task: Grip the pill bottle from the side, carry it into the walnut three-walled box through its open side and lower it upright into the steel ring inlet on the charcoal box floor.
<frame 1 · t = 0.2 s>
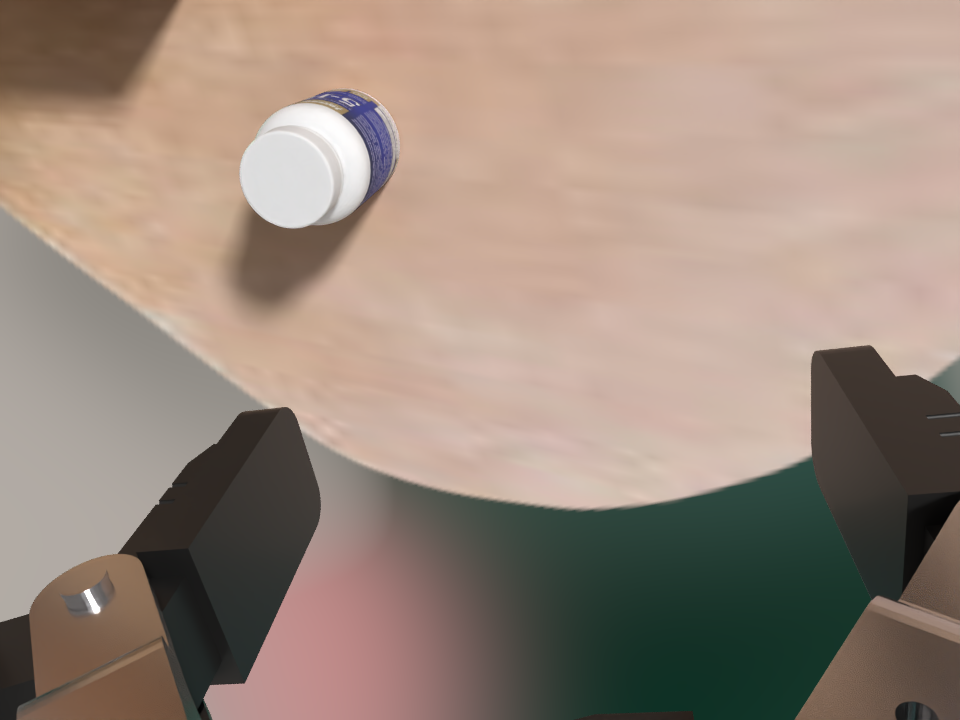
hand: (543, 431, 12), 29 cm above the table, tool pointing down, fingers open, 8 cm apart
pill bottle: (351, 141, 40), on the table
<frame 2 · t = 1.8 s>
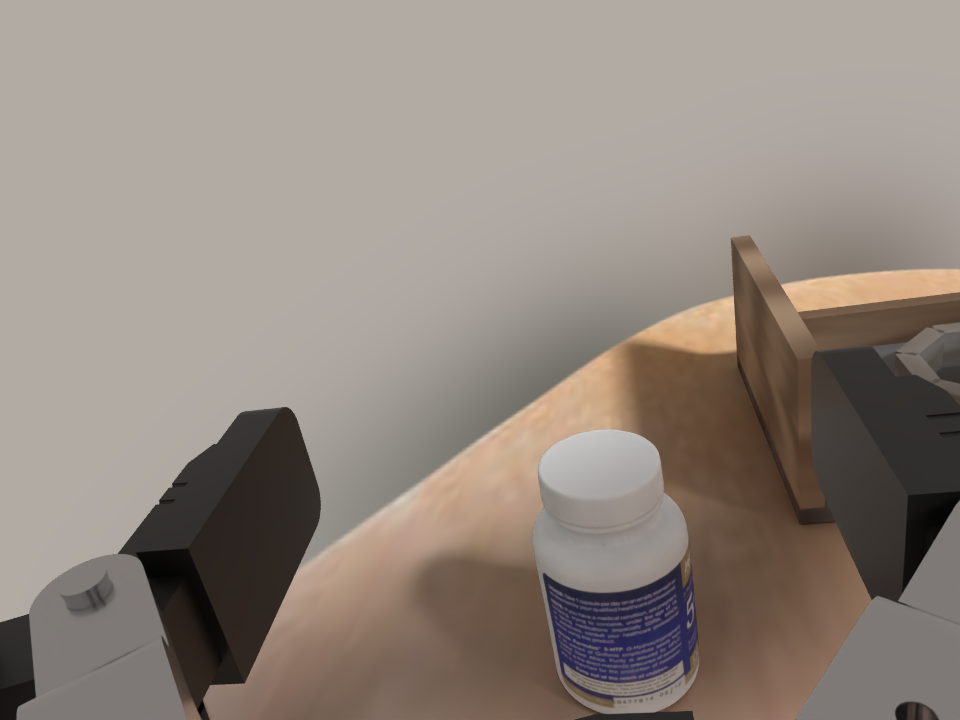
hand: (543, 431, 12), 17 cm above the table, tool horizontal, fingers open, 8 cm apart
pill bottle: (627, 665, 30), on the table
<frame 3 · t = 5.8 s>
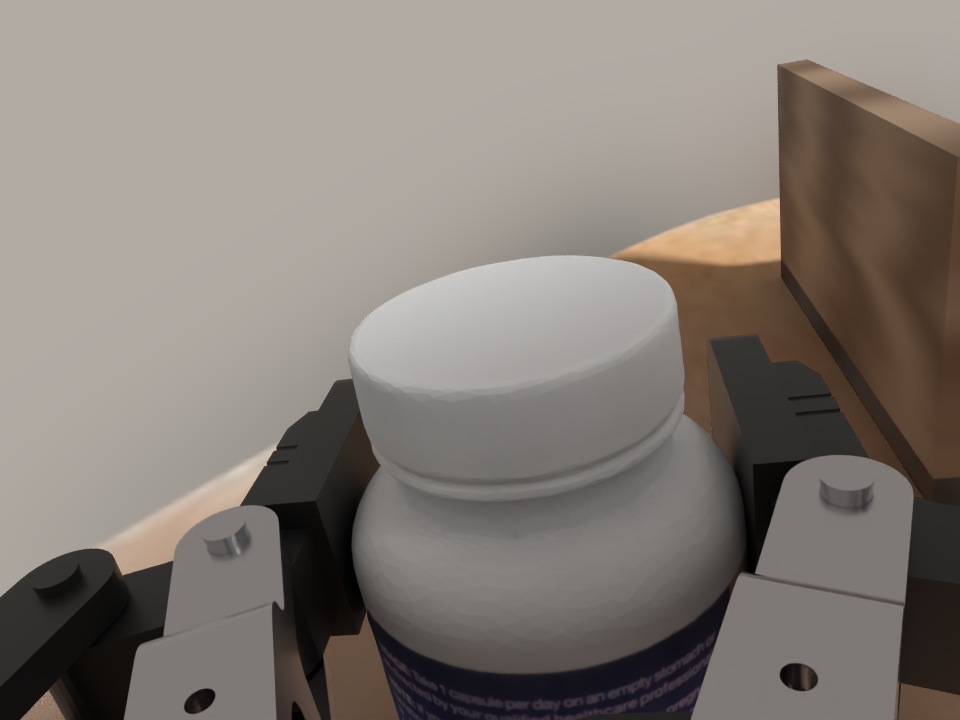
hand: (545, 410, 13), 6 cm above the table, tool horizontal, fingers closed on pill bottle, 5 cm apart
when the fingers open (7 cm above the table, at t = 13.9 s): pill bottle stays where it is, resting on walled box.
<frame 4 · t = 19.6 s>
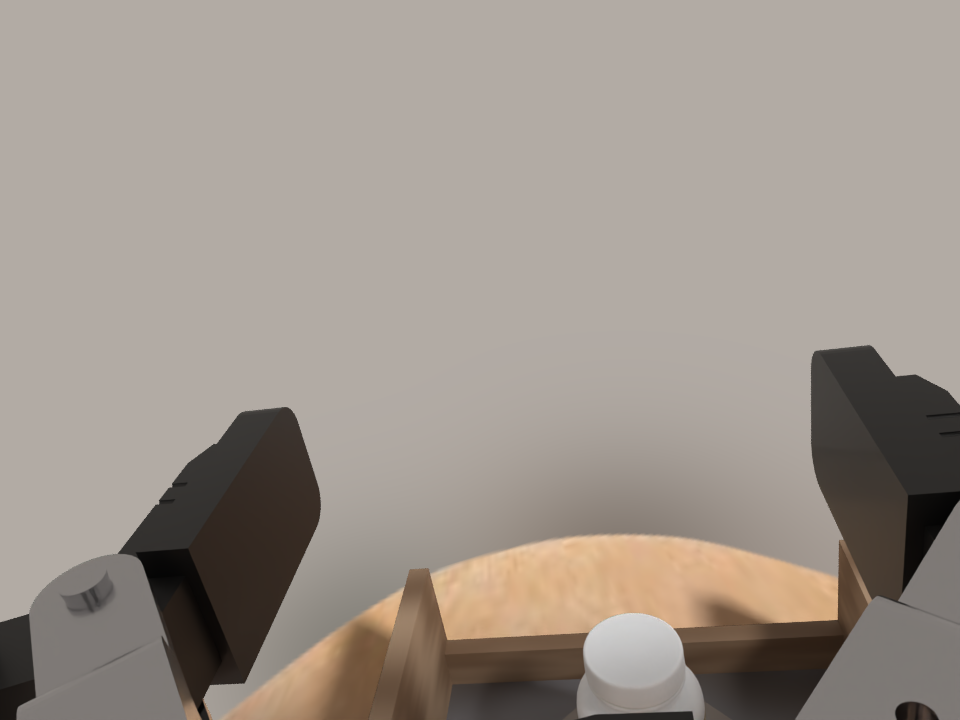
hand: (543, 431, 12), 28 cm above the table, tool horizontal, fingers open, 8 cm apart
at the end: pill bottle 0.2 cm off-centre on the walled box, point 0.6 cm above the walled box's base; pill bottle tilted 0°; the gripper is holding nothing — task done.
